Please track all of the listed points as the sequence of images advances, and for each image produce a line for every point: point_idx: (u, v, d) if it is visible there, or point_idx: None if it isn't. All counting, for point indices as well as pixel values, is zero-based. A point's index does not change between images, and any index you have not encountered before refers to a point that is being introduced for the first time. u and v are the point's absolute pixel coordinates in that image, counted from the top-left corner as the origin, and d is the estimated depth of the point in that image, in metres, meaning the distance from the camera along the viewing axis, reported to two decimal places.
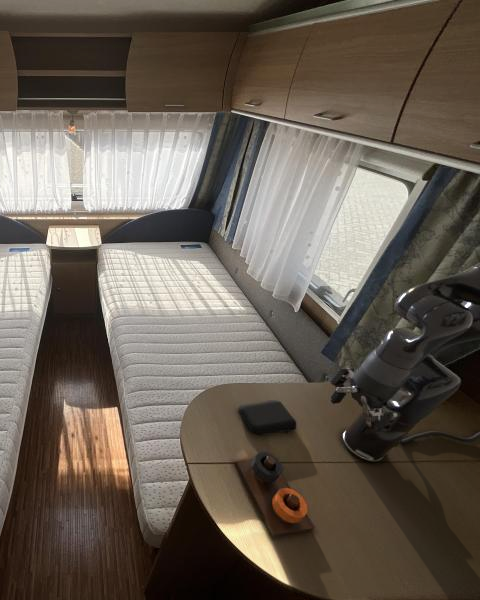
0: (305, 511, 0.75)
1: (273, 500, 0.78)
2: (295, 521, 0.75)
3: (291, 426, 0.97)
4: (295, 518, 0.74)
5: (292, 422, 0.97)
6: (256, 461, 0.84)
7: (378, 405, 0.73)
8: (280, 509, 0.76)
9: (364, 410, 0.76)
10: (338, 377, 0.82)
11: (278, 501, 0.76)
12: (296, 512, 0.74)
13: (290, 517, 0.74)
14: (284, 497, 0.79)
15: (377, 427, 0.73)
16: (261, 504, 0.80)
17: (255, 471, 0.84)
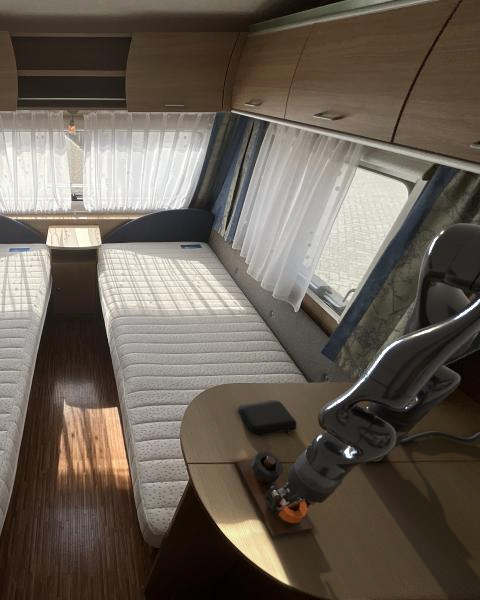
0: (305, 511, 0.75)
1: None
2: (295, 521, 0.75)
3: (291, 426, 0.97)
4: (295, 518, 0.74)
5: (292, 422, 0.97)
6: (256, 461, 0.84)
7: (284, 486, 0.73)
8: None
9: None
10: None
11: None
12: (296, 512, 0.74)
13: (290, 517, 0.74)
14: None
15: None
16: (261, 504, 0.80)
17: (255, 471, 0.84)
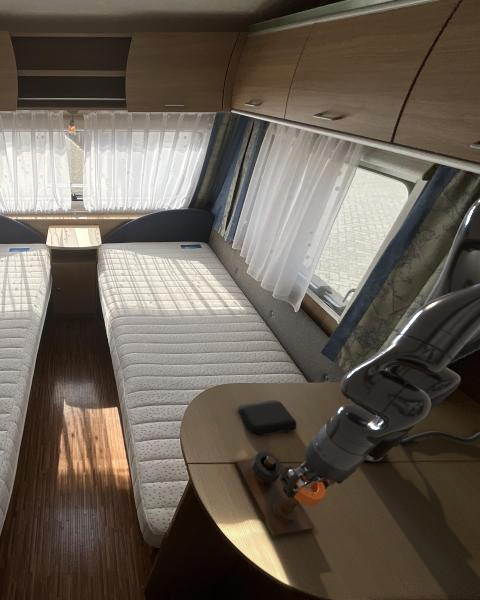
0: (323, 492, 0.69)
1: None
2: (312, 503, 0.69)
3: (291, 426, 0.97)
4: (312, 500, 0.69)
5: (292, 422, 0.97)
6: (256, 461, 0.84)
7: (301, 465, 0.67)
8: None
9: None
10: None
11: None
12: (314, 494, 0.69)
13: (307, 499, 0.69)
14: None
15: None
16: (261, 504, 0.80)
17: (255, 471, 0.84)
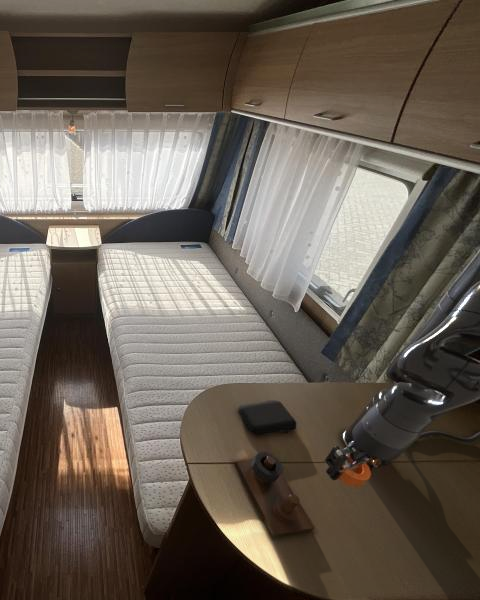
0: (369, 474, 0.69)
1: None
2: (358, 485, 0.70)
3: (291, 426, 0.97)
4: (358, 481, 0.69)
5: (292, 422, 0.97)
6: (256, 461, 0.84)
7: (348, 445, 0.67)
8: None
9: None
10: None
11: None
12: (359, 475, 0.69)
13: (353, 480, 0.69)
14: None
15: None
16: (261, 504, 0.80)
17: (255, 471, 0.84)
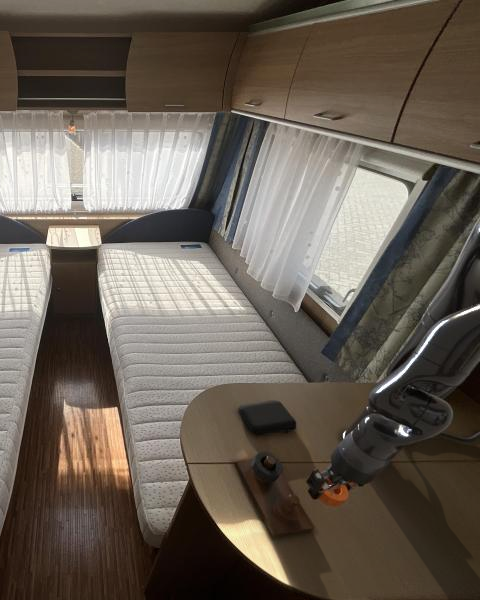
0: (346, 495, 0.75)
1: None
2: (336, 505, 0.75)
3: (291, 426, 0.97)
4: (336, 501, 0.74)
5: (292, 422, 0.97)
6: (256, 461, 0.84)
7: (327, 469, 0.73)
8: None
9: None
10: None
11: None
12: (337, 495, 0.75)
13: (331, 500, 0.75)
14: None
15: None
16: (261, 504, 0.80)
17: (255, 471, 0.84)
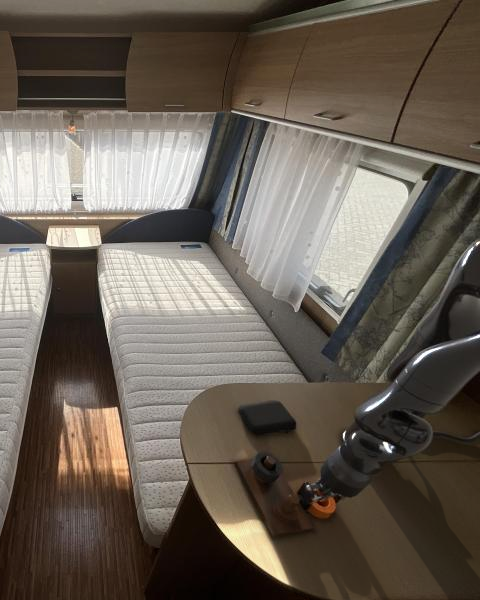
0: (334, 507, 0.79)
1: None
2: (324, 516, 0.79)
3: (291, 426, 0.97)
4: (324, 513, 0.78)
5: (292, 422, 0.97)
6: (256, 461, 0.84)
7: (316, 481, 0.76)
8: None
9: None
10: None
11: None
12: (325, 508, 0.78)
13: (320, 513, 0.78)
14: None
15: None
16: (261, 504, 0.80)
17: (255, 471, 0.84)
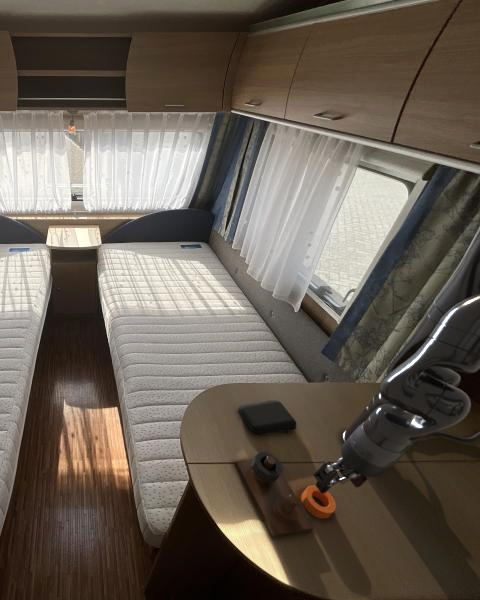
0: (334, 507, 0.79)
1: (302, 497, 0.82)
2: (324, 516, 0.79)
3: (291, 426, 0.97)
4: (324, 513, 0.78)
5: (292, 422, 0.97)
6: (256, 461, 0.84)
7: (337, 462, 0.71)
8: (310, 505, 0.80)
9: None
10: None
11: (307, 497, 0.80)
12: (325, 508, 0.78)
13: (320, 513, 0.78)
14: (312, 494, 0.83)
15: None
16: (261, 504, 0.80)
17: (255, 471, 0.84)
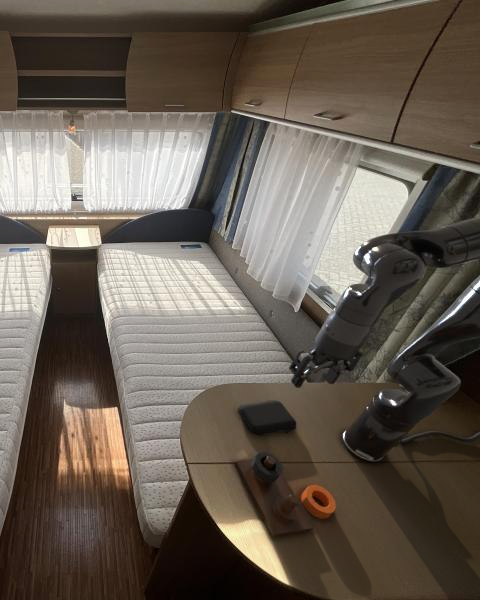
0: (334, 507, 0.79)
1: (302, 497, 0.82)
2: (324, 516, 0.79)
3: (291, 426, 0.97)
4: (324, 513, 0.78)
5: (292, 422, 0.97)
6: (256, 461, 0.84)
7: (311, 352, 0.74)
8: (310, 505, 0.80)
9: None
10: None
11: (307, 497, 0.80)
12: (325, 508, 0.78)
13: (320, 513, 0.78)
14: (312, 494, 0.83)
15: None
16: (261, 504, 0.80)
17: (255, 471, 0.84)
